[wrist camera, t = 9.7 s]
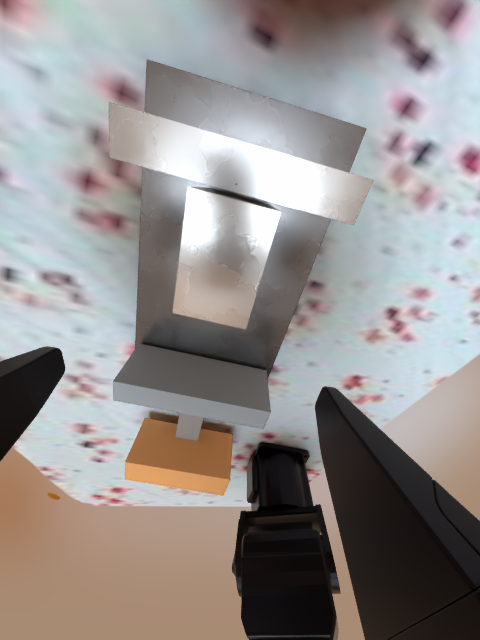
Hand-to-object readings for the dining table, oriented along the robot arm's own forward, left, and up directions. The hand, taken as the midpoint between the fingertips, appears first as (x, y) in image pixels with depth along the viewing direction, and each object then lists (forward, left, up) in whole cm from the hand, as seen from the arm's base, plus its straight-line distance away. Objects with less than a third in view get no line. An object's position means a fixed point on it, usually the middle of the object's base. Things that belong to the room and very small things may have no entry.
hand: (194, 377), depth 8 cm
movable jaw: (0, +15, -12) cm, 19 cm away
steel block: (0, -2, -12) cm, 12 cm away
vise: (0, +1, -13) cm, 13 cm away
